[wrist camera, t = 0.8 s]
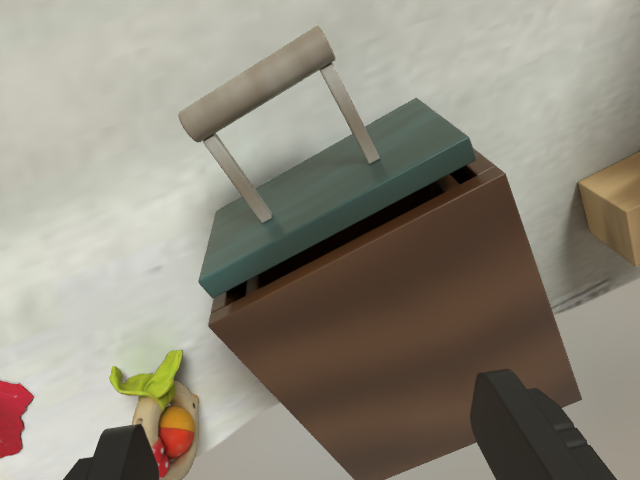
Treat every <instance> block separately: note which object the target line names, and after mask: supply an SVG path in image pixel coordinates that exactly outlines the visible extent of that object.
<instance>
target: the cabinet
mask: <svg viewBox="0 0 640 480" xmlns="http://www.w3.org/2000/svg"><path fill="white" fill-rule="evenodd" d="M473 149H474V148H473ZM474 152H475V155H476V157H477V159H476V160H475V161H473V162H472V163H470V164H468V165H466V166H464V167H462V168H460V169H458V170H456V171H454V172H453V173H451V174H450V175H451V176H452V177H453V178H454V179H455V180H456V181H457V182H458V183H459V184H460V185H458V186H456V187H454V188H453V189H451V190H449V191H447V192H445V193H443V194H441V195H439V196H437V197H435V198H433V199H431V200H429V201H428V202H426V203H424V204H422V205H420V206H418V207H416V208H414V209H412V210H410V211H408V212H406V213H404V214H403V215H401V216H399V217H397V218H395V219H393V220H391V221H389V222H387V223H385V224H383V225H381V226H379V227H378V228H376V229H374V230H372V231H370V232H368V233H366V234H364V235H362V236H360V237H358V238H356V239H354V240H352V241H351V242H349V243H347V244H345V245H343V246H341V247H339V248H337V249H335V250H333V251H331V252H329V253H327V254H326V255H324V256H322V257H320V258H318V259H316V260H314V261H312V262H310V263H308V264H306V265H304V266H302V267H301V268H299V269H297V270H295V271H293V272H291V273H289V274H287V275H285V276H283V277H281V278H279V279H277V280H275V281H274V282H272V283H270V284H268V285H266V286H264V287H262V288H260V289H258V290H256V291H254V292H252V293H250V294H249V295H247V296H245V295H246V284H247V281H246V282H244V283H242V284H240V285H238V286H236V287H234V288H232V289H230V290H228V291H227V292H225V293H223V294H221V295H219V296H217V297H215V298H214V299H213V304H212V309H211V315H210V319H209V324H208V326H209V328H210V329H211V330H212V331H213V332H214V333H215V334H216V335H217V336H218V337H219V338H220V339H221V340H222V341H223V342H224V343H225V344H226V345H227V346H228V348H229V349H230V350H231V351H232V352H233V353H234V354H235V355H236V356H237V357H238V358H239V359H240V360H241V361H242V362H243V363H244V364H245V365H246V366H247V367H248V368H249V370H250V371H251V372H252V373H253V374H254V375H255V376H256V377H257V378H258V379H259V380H260V381H261V382H262V383H263V384H264V385H265V386H266V387H267V388H268V389H269V391H270V392H271V393H272V394H273V395H274V396H275V397H276V398H277V399H278V400H279V401H280V402H281V403H282V404H283V405H284V406H285V407H286V408H287V409H288V410H289V411H290V413H291V414H292V415H293V416H294V417H295V418H296V419H297V420H298V421H299V422H300V423H301V424H302V425H303V426H304V427H305V428H306V429H307V430H308V431H309V432H310V433H311V435H312V436H313V437H314V438H315V439H316V440H317V441H318V442H319V443H320V444H321V445H322V446H323V447H324V448H325V449H326V450H327V451H328V452H329V453H330V454H331V456H332V457H333V458H334V459H335V460H336V461H337V462H338V463H339V464H340V465H341V466H342V467H343V468H344V469H345V470H346V471H347V472H348V473H349V474H350V475H351V476H352V478H353V479H354V480H385V479H387V478H390V477H392V476H395V475H397V474H400V473H402V472H405V471H407V470H409V469H412V468H414V467H417V466H419V465H422V464H424V463H427V462H429V461H432V460H434V459H437V458H439V457H442V456H444V455H447V454H449V453H452V452H454V451H456V450H459V449H461V448H464V447H466V446H469V445H471V444H473V443H476V440H475V437H474V434H473V431H472V428H471V422H470V411H471V405H472V399H473V393H474V387H475V380H476V376H477V374H478V373H482V372H489V371H495V370H502V369H511V370H512V371H513V372H514V373H515V374H516V375H517V377H518V378H519V379H520V381H521V382H522V383H523V385H524V386H525V388H526V389H532V388H537V389H539V390H540V391H541V392H543V393H544V394H546V395H547V396H548V397H550V398H551V399H552V400H554V401H555V402H556V403H558V404H559V406H560V407H561V408H563V407H565V406H567V405H570V404H572V403H575V402H577V401H580V400H582V398H581V395H580V392H579V389H578V386H577V383H576V380H575V377H574V374H573V371H572V369H571V365H570V362H569V359H568V356H567V354H566V351H565V348H564V345H563V342H562V339H561V336H560V333H559V330H558V327H557V324H556V321H555V318H554V315H553V312H552V309H551V306H550V303H549V300H548V297H547V295H546V292H545V289H544V286H543V283H542V280H541V277H540V274H539V271H538V268H537V265H536V262H535V259H534V256H533V253H532V250H531V247H530V244H529V241H528V239H527V236H526V233H525V230H524V227H523V224H522V221H521V218H520V215H519V212H518V209H517V206H516V203H515V200H514V197H513V194H512V191H511V188H510V186H509V183H508V180H507V177H506V174H505V173H504V172H503V171H502V170H500V169H499V168H498V167H497V166H495V165H494V164H493V163H491V162H490V161H489V160H488V159H486V158H485V157H484V156H483V155H481V154H480V153H479V152H477V151H476V150H475V149H474Z"/></svg>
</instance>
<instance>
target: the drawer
mask: <svg viewBox="0 0 640 480" xmlns="http://www.w3.org/2000/svg"><path fill="white" fill-rule="evenodd" d="M333 61H335V55H334V53H333V51H332V49H331V47H330V45H329V43H328V41H327V39H326V37H325V35H324V33H323V31H322V30H321V28H320V27H319V26H316V27H314V28H313V29H311V30H310V31H308V32H306V33H305V34H303V35H302V36H300V37H298V38H297V39H295V40H294V41H292V42H291V43H289V44H287V45H286V46H284V47H283V48H281V49H279V50H278V51H276V52H275V53H273V54H271V55H270V56H268V57H267V58H265V59H263V60H262V61H260V62H259V63H257V64H255V65H254V66H252V67H251V68H249V69H247V70H246V71H244V72H243V73H241V74H240V75H238V76H236V77H235V78H233V79H232V80H230V81H228V82H227V83H225V84H224V85H222V86H220V87H219V88H217V89H216V90H214V91H212V92H211V93H209V94H208V95H206V96H204V97H203V98H201V99H200V100H198V101H196V102H195V103H193V104H192V105H190V106H188V107H187V108H185V109H184V110H182V111H181V112H179V119H180V122H181V124H182V126H183V128H184V129H185V131H186V132H187V134H188V135H189V136H190V137H191V138H192V139H193V140H194V141H196V142H201V141H203V140H204V141H203V143H204V144H205V146H206V147H207V148H208V150H209V151H210V153H211V154H212V155H213V157H214V158H215V159H216V161H217V162H218V164H219V165H220V166H221V168H222V169H223V170H224V172H225V173H226V175H227V176H228V177H229V179H230V180H231V181H232V183H233V184H234V186H235V187H236V188H237V190H238V191H239V192H240V194H241V195H242V197H241V198H239V199H237V200H235V201H234V202H232V203H230V204H228V205H227V206H225V207H223V208H221V209H220V210H218V211H216V214H215V218H214V222H213V226H212V230H211V234H210V238H209V242H208V246H207V250H206V254H205V257H204V261H203V265H202V269H201V273H200V277H199V281H198V282H199V284H200V285H201V286H202V287H203V288H204V289H205V290H206V292H207V293H208V294H209V295H210V296H211V297H212V298H215V297H217V296H219V295H221V294H223V293H225V292H227V291H228V290H230V289H232V288H234V287H236V286H238V285H240V284H242V283H244V282H246V281H247V284H246V295H245V296H247V295H249V294H250V293H252V292H254V291H256V290H258V289H260V288H262V287H264V286H266V285H268V284H270V283H272V282H274V281H275V280H277V279H279V278H281V277H283V276H285V275H287V274H289V273H291V272H293V271H295V270H297V269H299V268H301V267H302V266H304V265H306V264H308V263H310V262H312V261H314V260H316V259H318V258H320V257H322V256H324V255H326V254H327V253H329V252H331V251H333V250H335V249H337V248H339V247H341V246H343V245H345V244H347V243H349V242H351V241H352V240H354V239H356V238H358V237H360V236H362V235H364V234H366V233H368V232H370V231H372V230H374V229H376V228H378V227H379V226H381V225H383V224H385V223H387V222H389V221H391V220H393V219H395V218H397V217H399V216H401V215H403V214H404V213H406V212H408V211H410V210H412V209H414V208H416V207H418V206H420V205H422V204H424V203H426V202H428V201H429V200H431V199H433V198H435V197H437V196H439V195H441V194H443V193H445V192H447V191H449V190H451V189H453V188H454V187H456V186H458V185H460V184H459V183H458V182H457V181H456V180H455V179H454V178H453V177H452V176H451V175H450V174H451V173H453V172H454V171H456V170H458V169H460V168H462V167H464V166H466V165H468V164H470V163H472V162H473V161H475V160H476V159H477V157H476V155H475V152H474V149H473V147H472V144H471V141H470V139H469V137H468V136H467V135H466V134H464V133H463V132H462V131H460V130H459V129H458V128H456V127H455V126H454V125H452V124H451V123H450V122H448V121H447V120H446V119H444V118H443V117H442V116H440V115H439V114H438V113H436V112H435V111H434V110H432V109H431V108H430V107H428V106H427V105H426V104H424V103H423V102H422V101H420V100H419V99H418V98H415V99H413V100H411V101H410V102H408V103H406V104H404V105H403V106H401V107H399V108H397V109H396V110H394V111H392V112H390V113H389V114H387V115H385V116H383V117H381V118H380V119H378V120H376V121H374V122H373V123H371V124H369V125H367V126H366V127H364V125H363V123H362V121H361V119H360V117H359V115H358V113H357V111H356V109H355V107H354V105H353V103H352V101H351V99H350V97H349V95H348V93H347V91H346V89H345V87H344V85H343V83H342V81H341V79H340V77H339V75H338V73H337V71H336V69H335V67H334V65H333V64H332V62H333ZM318 70H320V72H321V74H322V76H323V77H324V79H325V81H326V83H327V85H328V87H329V89H330V91H331V93H332V95H333V97H334V99H335V100H336V102H337V104H338V106H339V108H340V110H341V112H342V114H343V116H344V118H345V120H346V121H347V123H348V125H349V127H350V129H351V131H352V133H353V134H352V135H350V136H348V137H346V138H345V139H343V140H341V141H339V142H337V143H336V144H334V145H332V146H330V147H329V148H327V149H325V150H323V151H322V152H320V153H318V154H316V155H315V156H313V157H311V158H309V159H308V160H306V161H304V162H302V163H301V164H299V165H297V166H295V167H293V168H292V169H290V170H288V171H286V172H285V173H283V174H281V175H279V176H278V177H276V178H274V179H272V180H271V181H269V182H267V183H265V184H264V185H262V186H260V187H258V188H256V189H255V188H254V187H253V185H252V184H251V183H250V181H249V180H248V178H247V177H246V175H245V174H244V173H243V171H242V170H241V168H240V167H239V165H238V164H237V163H236V161H235V160H234V158H233V157H232V155H231V154H230V153H229V151H228V150H227V148H226V147H225V146H224V144H223V143H222V141H221V140H220V138H219V137H218V136H217V134H216V132H218V131H219V130H221V129H223V128H224V127H226V126H228V125H229V124H231V123H233V122H234V121H236V120H237V119H239V118H241V117H242V116H244V115H246V114H247V113H249V112H251V111H252V110H254V109H256V108H257V107H259V106H261V105H262V104H264V103H265V102H267V101H269V100H270V99H272V98H274V97H275V96H277V95H279V94H280V93H282V92H284V91H285V90H287V89H289V88H290V87H292V86H294V85H295V84H297V83H298V82H300V81H302V80H303V79H305V78H307V77H308V76H310V75H312V74H313V73H315V72H317V71H318Z"/></svg>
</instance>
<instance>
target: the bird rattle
mask: <svg viewBox="0 0 640 480" xmlns="http://www.w3.org/2000/svg"><path fill="white" fill-rule="evenodd" d="M182 356H183V350H178V351H175V350H173V351H171V352H169V353H168V354H167V356H166V358H165V360H164V361H163V362H162V364H161V365H160V366H159V368H158V369H157V371H156V372H155V373H154V374H153V373H150V374H138V375H136V376H133V377H131V378H129V379H128V380H127V381H126V382H125V383H123V382H122V374H121V371H120V370H119V369H118V368H117V367H115V366H113V367H112V371H111V375H110V378H109V379H110V382H111V384H112V385H113V386H114V388H115V389H116V391H118V392H119V393H121V394H125V395H139V400H138V401H139V402H138V404H137V407H136V409H135V413H134V416H133V421H132V425H136V424H141V425H142V426H143V428H144V430H145V432H146V435H147V438H148V440H149V443H150V446H151V448H152V451H153V453H154V456H155V459H156V461H157V464H158V469H159V480H182V479H183V478H184V477H185V476H186V475H187V473H188V472H189V470H190V468H191V466H192V464H193V461H194V458H195V455H196V451H197V446H198V437H199V422H198V413H197V407H198V397H197V396H196V395H194V394H191V392H190V391H189V390H188V389H187V388H186V387H185V386H184V385H183V384H181V383H179V382H177V381H174V377H175V374H176V372H177V370H178V369H179V366H180V362H181V359H182ZM169 403H170V404H171V406H168V407H167V405H168V404H169Z"/></svg>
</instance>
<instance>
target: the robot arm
mask: <svg viewBox="0 0 640 480" xmlns="http://www.w3.org/2000/svg"><path fill="white" fill-rule="evenodd" d="M470 422H471V428H472V431H473V434H474V437H475V440H476V442H477V444H478V446H479V447H480V449H481V451H482V453H483V455H484V457H485V459H486V461H487V463H488V465H489V467H490V469H491V470H492V472H493V474H494V476H495V478H496V480H617V479H616V478H615V477H614V475H613V474H612V473H611V472H610V470H609V469H608V468H607V466H606V465H605V464H604V463H603V461H602V460H601V459H600V457H599V456H598V455H597V453H596V452H595V451H594V450H593V448H592V447H591V446H590V445H588V444H587V440H586V439H585V438H584V437H583V435H582V434H581V433H580V431H579V430H578V429H577V428H575V427H574V424H573V422H572V421H571V420H570V419H569V418H568V416H567V415H566V414H565V412H564V411H563V410H562V408H561V407H560V406H559V404H558V403H556V402H555V401H554V400H552V399H551V398H550V397H548V396H547V395H546V394H544V393H543V392H541V391H540V390H539V389H537V388H532V389H526V388H525V386H524V385H523V383H522V382H521V381H520V379H519V378H518V377H517V375H516V374H515V373H514V372H513V371H512V370H511V369H502V370H495V371H489V372H482V373H478V374H477V376H476V380H475V387H474V393H473V399H472V405H471V411H470ZM63 480H159V469H158V464H157V461H156V459H155V456H154V453H153V451H152V448H151V446H150V443H149V440H148V438H147V435H146V432H145V430H144V428H143V426H142V425H141V424H136V425H129V426H123V427H116V428H110V429H106V430H104V431H103V433H102V434H101V436H100V439H99V442H98V444H97V447H96V450H95V453H94V456H93V457H90V458H84V459H79V460H78V461H77V463H76V464H75V465H74V466H73V468H72V469H71V470H70V472H69V473H68V474H67V475H66V477H65V478H64V479H63Z"/></svg>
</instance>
